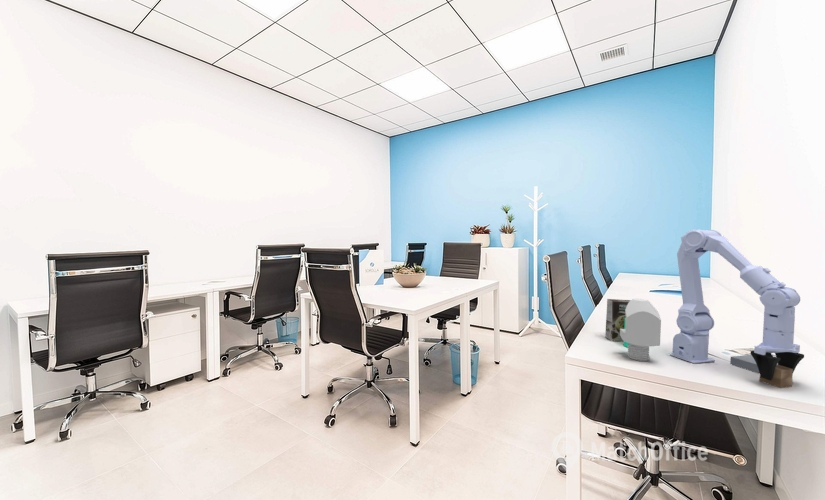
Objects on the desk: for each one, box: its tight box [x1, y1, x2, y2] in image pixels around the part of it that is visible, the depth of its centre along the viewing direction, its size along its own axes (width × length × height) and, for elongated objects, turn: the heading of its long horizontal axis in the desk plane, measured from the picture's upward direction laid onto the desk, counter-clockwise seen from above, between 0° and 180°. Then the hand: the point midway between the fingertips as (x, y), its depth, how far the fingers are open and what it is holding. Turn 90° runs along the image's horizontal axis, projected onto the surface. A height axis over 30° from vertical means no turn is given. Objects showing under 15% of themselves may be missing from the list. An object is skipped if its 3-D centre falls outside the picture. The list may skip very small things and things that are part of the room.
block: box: [759, 365, 794, 389], centre depth 90 cm, size 4×4×5 cm
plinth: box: [729, 354, 778, 375], centre depth 101 cm, size 9×9×2 cm
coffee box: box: [604, 298, 632, 343], centre depth 129 cm, size 9×6×16 cm
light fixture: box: [620, 298, 662, 362], centre depth 109 cm, size 9×9×20 cm
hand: (775, 377), depth 91 cm, fingers open, 7 cm apart
